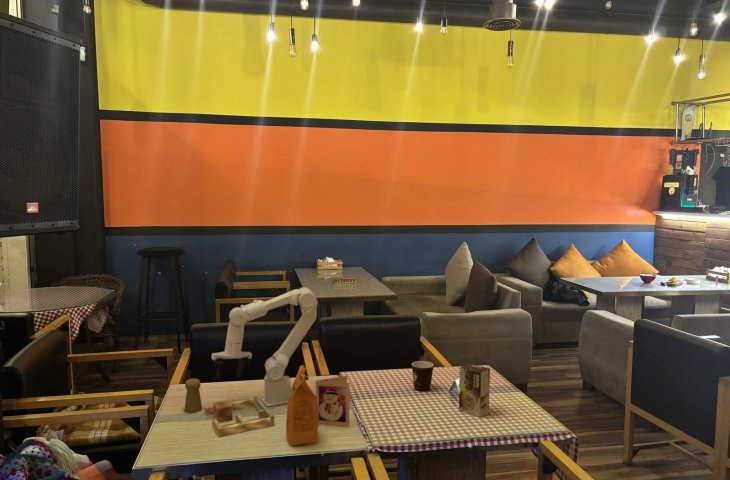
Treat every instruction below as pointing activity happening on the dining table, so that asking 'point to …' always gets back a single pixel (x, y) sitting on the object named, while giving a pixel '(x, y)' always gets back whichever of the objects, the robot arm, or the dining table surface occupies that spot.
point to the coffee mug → (422, 375)
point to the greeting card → (333, 401)
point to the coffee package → (301, 412)
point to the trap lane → (241, 426)
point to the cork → (193, 396)
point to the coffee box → (474, 389)
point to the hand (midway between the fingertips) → (228, 378)
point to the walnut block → (222, 411)
